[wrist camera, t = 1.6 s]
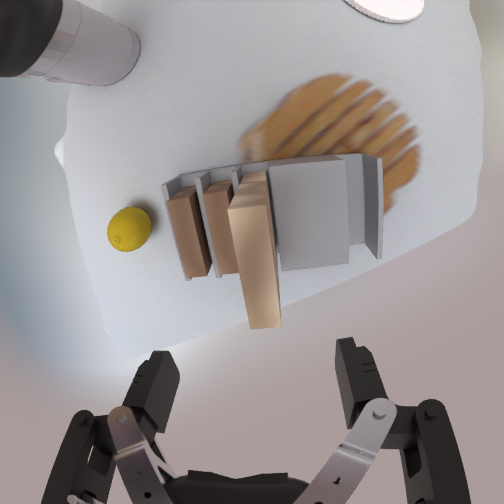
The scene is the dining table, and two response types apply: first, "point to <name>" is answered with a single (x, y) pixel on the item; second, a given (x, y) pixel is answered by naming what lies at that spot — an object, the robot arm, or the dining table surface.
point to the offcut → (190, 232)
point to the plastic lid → (389, 9)
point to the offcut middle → (221, 225)
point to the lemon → (129, 229)
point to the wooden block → (256, 250)
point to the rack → (308, 205)
